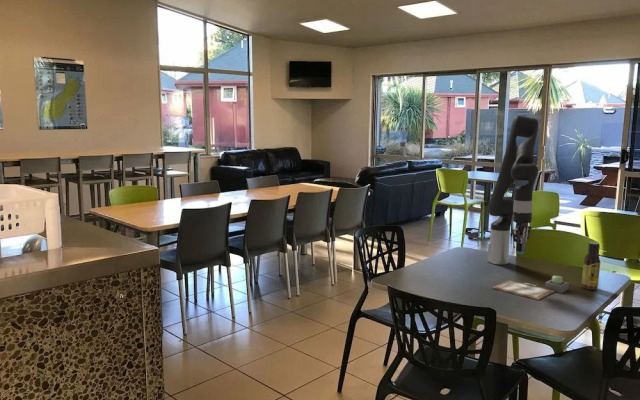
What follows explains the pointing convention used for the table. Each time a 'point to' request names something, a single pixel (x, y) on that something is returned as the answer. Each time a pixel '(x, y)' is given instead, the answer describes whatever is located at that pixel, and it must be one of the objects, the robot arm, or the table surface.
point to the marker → (523, 245)
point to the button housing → (557, 286)
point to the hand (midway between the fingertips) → (520, 250)
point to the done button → (557, 279)
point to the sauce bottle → (591, 267)
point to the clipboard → (523, 289)
